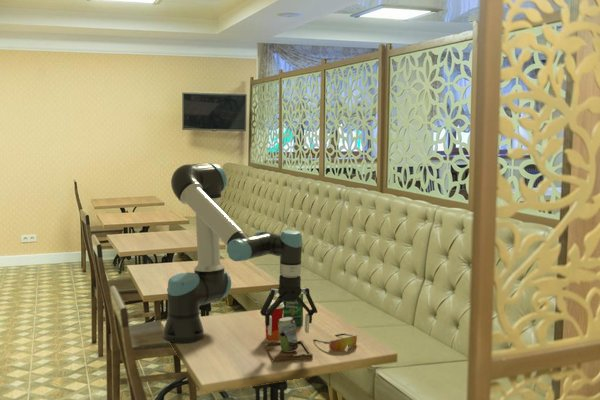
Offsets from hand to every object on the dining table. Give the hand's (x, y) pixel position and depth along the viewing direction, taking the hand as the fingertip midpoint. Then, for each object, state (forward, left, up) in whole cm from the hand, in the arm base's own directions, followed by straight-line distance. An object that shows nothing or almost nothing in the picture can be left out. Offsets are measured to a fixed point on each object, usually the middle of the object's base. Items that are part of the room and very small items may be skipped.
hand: (288, 333), depth 232 cm
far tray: (0, 0, -8) cm, 8 cm away
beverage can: (0, 0, -7) cm, 7 cm away
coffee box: (-30, +9, -8) cm, 32 cm away
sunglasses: (-6, +20, -8) cm, 22 cm away
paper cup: (-16, -2, -8) cm, 18 cm away
